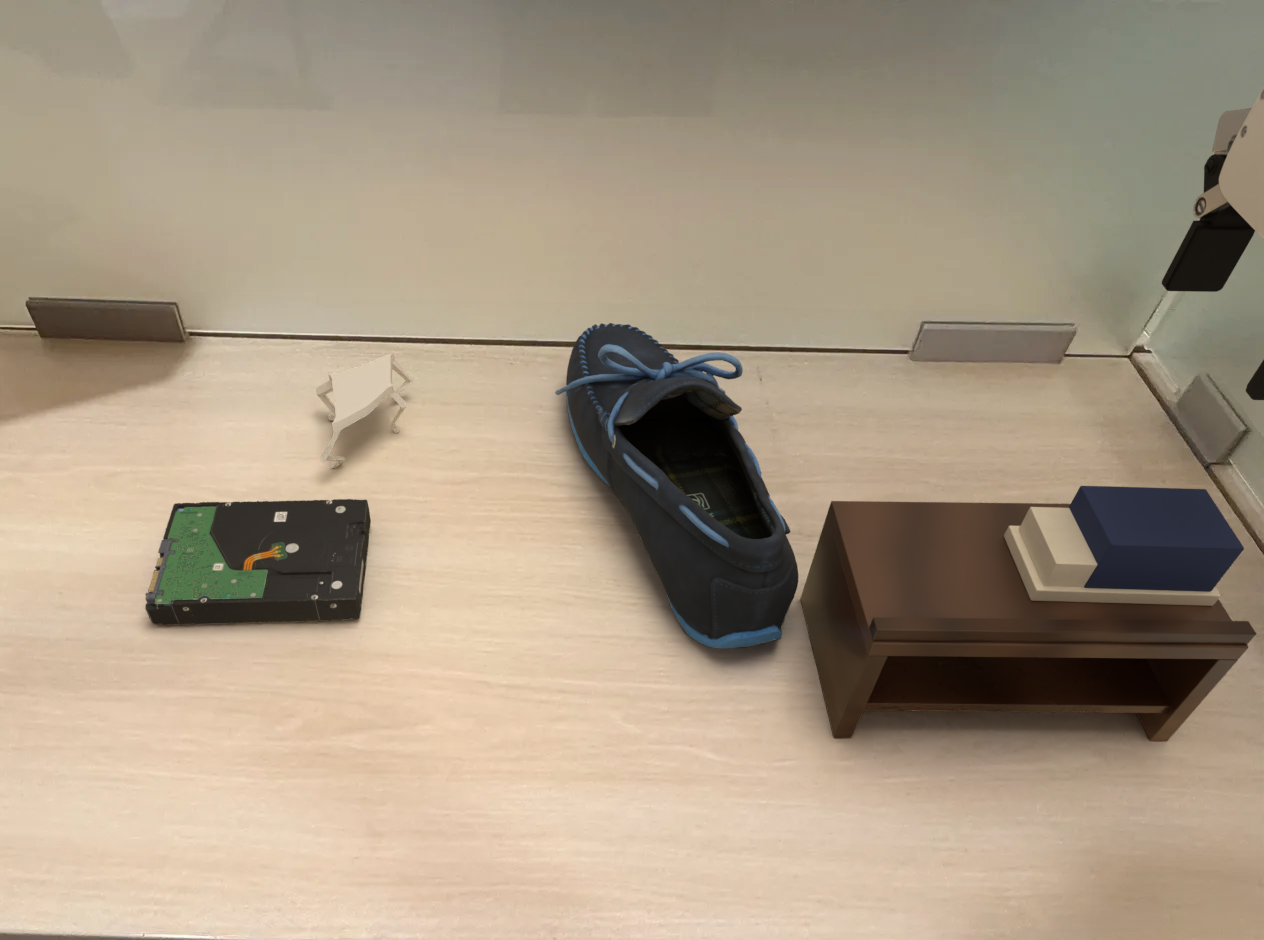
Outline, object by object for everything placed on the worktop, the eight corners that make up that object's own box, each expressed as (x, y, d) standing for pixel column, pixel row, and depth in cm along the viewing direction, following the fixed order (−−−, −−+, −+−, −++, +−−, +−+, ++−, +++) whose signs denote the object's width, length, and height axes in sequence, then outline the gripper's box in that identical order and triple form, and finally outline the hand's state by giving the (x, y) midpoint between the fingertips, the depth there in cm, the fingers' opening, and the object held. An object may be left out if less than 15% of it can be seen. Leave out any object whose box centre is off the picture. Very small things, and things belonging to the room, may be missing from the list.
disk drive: (371, 522, 77) (180, 526, 76) (368, 496, 75) (171, 500, 74) (362, 624, 70) (150, 630, 69) (358, 598, 68) (140, 604, 67)
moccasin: (666, 359, 93) (681, 245, 84) (875, 626, 70) (923, 508, 62) (529, 388, 89) (529, 273, 81) (702, 680, 67) (729, 563, 58)
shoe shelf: (1096, 601, 72) (1166, 493, 64) (1168, 741, 64) (1259, 636, 56) (800, 598, 72) (834, 489, 64) (833, 738, 64) (877, 633, 56)
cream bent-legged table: (327, 390, 88) (319, 344, 85) (419, 396, 88) (415, 350, 84) (293, 479, 80) (283, 433, 77) (394, 486, 80) (388, 440, 76)
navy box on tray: (1174, 540, 63) (1212, 485, 59) (1213, 606, 59) (1256, 551, 55) (1003, 535, 63) (1030, 480, 59) (1030, 601, 59) (1062, 546, 56)
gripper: (1720, 65, 33) (1398, 448, 46) (1413, -80, 45) (1225, 255, 57) (1498, 63, 33) (1237, 446, 46) (1250, -81, 45) (1097, 253, 58)
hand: (1230, 339), depth 52 cm, fingers open, 9 cm apart
